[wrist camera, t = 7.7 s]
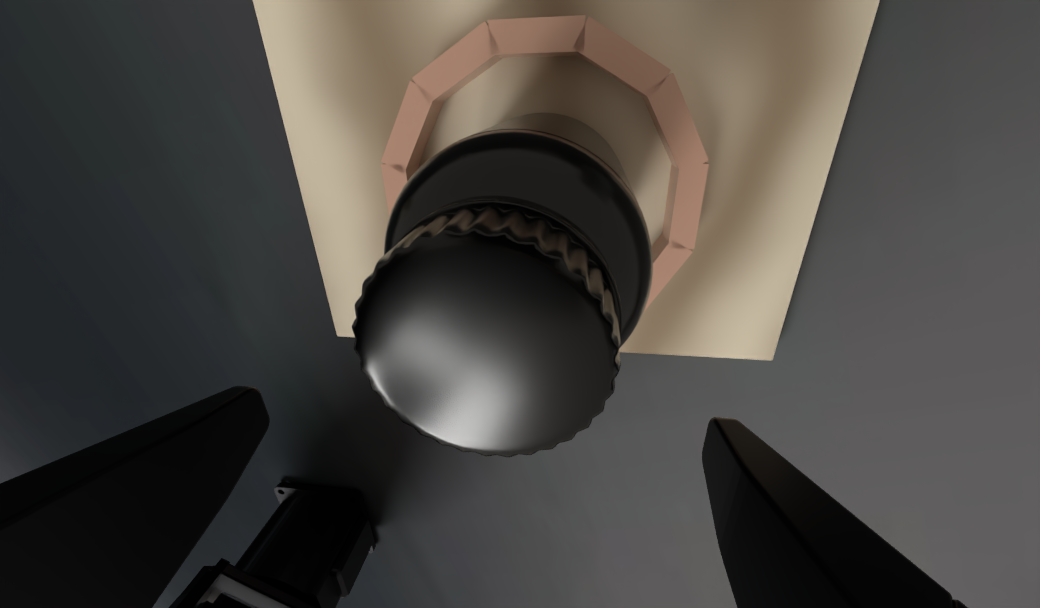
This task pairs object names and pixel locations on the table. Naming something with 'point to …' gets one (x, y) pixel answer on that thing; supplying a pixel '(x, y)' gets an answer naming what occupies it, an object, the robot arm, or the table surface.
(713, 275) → the birch board
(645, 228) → the supplement bottle
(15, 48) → the table surface
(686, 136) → the ring collar
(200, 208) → the table surface
